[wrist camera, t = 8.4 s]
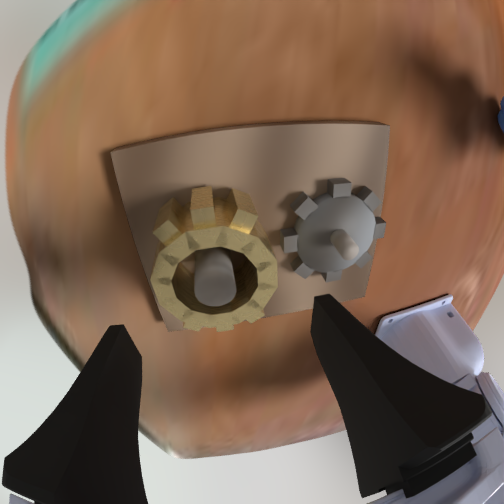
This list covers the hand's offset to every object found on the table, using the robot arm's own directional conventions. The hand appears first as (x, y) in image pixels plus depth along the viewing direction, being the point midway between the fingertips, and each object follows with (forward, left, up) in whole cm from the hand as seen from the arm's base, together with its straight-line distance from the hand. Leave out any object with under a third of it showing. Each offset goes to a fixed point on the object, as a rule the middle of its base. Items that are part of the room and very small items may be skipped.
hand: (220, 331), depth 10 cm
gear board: (-3, 0, -7) cm, 7 cm away
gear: (0, 0, -6) cm, 6 cm away
